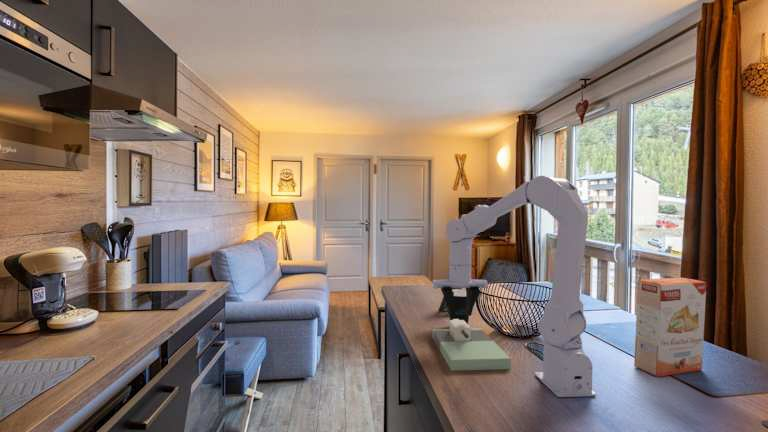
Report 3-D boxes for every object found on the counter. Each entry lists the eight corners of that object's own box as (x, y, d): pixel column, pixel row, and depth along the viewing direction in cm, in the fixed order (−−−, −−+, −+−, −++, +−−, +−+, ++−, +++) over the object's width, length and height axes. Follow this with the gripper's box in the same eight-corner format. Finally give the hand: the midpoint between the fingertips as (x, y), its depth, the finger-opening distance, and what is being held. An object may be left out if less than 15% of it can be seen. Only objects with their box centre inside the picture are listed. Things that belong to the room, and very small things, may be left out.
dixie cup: (456, 321, 114) (457, 288, 113) (477, 328, 107) (477, 292, 107) (440, 326, 108) (441, 291, 108) (461, 334, 102) (461, 296, 102)
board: (510, 369, 80) (510, 358, 80) (451, 370, 79) (451, 359, 79) (480, 336, 100) (480, 328, 100) (432, 337, 99) (432, 328, 99)
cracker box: (659, 379, 76) (662, 284, 76) (632, 366, 82) (635, 278, 81) (705, 371, 80) (708, 281, 79) (676, 360, 86) (679, 276, 85)
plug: (474, 356, 87) (474, 332, 87) (458, 356, 87) (459, 332, 87) (462, 340, 98) (462, 318, 98) (448, 340, 97) (448, 319, 97)
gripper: (481, 261, 98) (480, 309, 98) (430, 262, 97) (429, 310, 97) (491, 266, 91) (490, 317, 91) (436, 266, 90) (435, 318, 90)
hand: (459, 314), depth 93 cm, fingers open, 4 cm apart
